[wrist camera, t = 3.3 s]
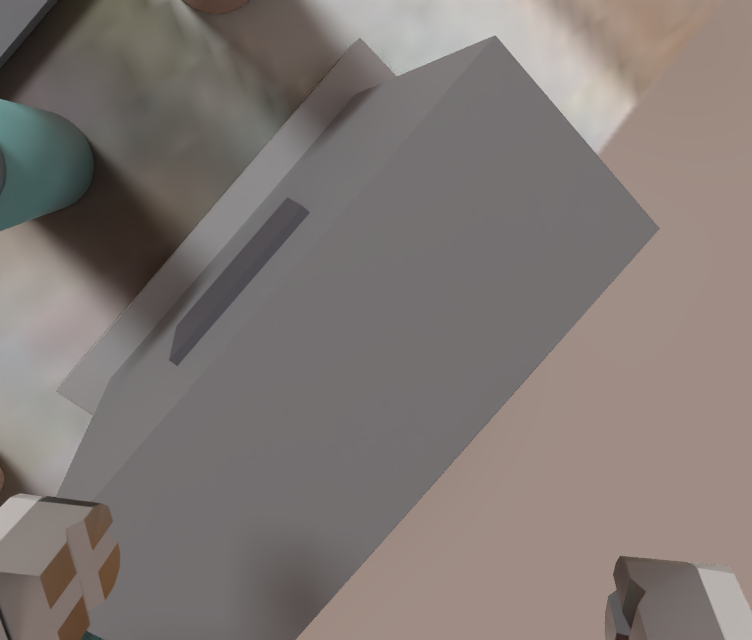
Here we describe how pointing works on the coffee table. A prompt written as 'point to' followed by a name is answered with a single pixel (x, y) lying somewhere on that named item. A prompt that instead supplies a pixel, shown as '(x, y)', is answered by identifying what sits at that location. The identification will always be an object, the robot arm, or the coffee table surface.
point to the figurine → (1, 479)
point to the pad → (19, 23)
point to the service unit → (337, 339)
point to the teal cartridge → (39, 163)
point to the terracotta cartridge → (216, 5)
